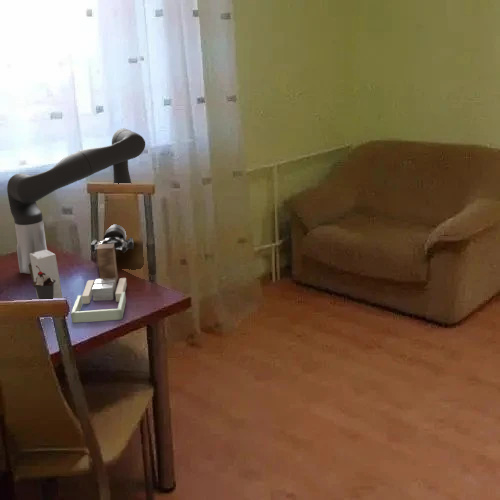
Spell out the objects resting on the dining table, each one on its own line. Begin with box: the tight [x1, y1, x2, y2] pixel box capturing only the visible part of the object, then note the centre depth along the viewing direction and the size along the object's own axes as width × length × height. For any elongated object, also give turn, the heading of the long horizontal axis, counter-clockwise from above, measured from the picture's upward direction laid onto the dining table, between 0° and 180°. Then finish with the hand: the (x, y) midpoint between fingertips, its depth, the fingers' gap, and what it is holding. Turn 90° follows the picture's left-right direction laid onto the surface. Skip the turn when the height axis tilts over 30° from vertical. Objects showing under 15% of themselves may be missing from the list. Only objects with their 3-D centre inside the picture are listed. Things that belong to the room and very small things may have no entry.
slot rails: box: [81, 277, 128, 305], centre depth 236 cm, size 12×14×2 cm
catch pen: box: [70, 291, 127, 324], centre depth 222 cm, size 14×14×3 cm
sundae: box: [31, 266, 56, 300], centre depth 220 cm, size 7×7×15 cm
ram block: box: [96, 243, 119, 284], centre depth 246 cm, size 5×5×12 cm
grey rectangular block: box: [92, 283, 116, 302], centre depth 233 cm, size 6×4×4 cm, turn 92°
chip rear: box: [94, 278, 117, 293], centre depth 238 cm, size 6×4×4 cm, turn 93°
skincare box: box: [30, 249, 64, 300], centre depth 232 cm, size 8×6×15 cm
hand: (110, 250), depth 256 cm, fingers open, 8 cm apart
